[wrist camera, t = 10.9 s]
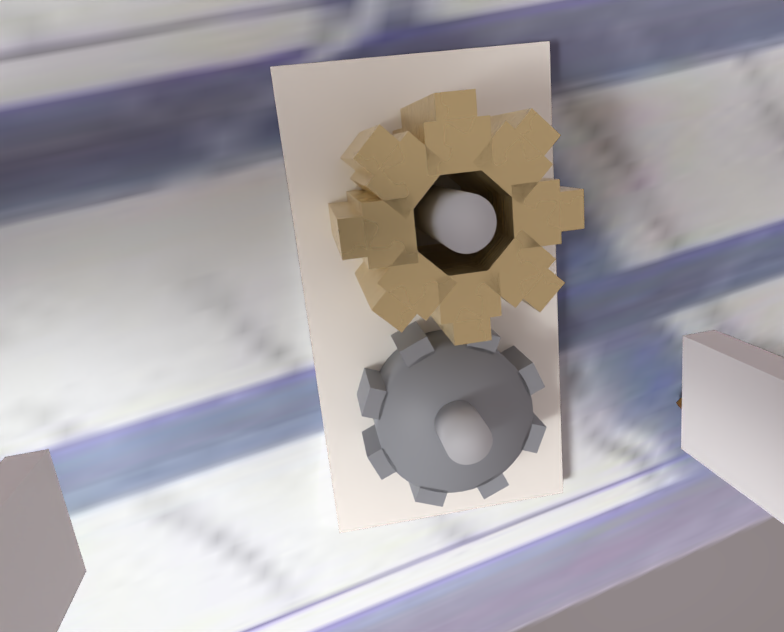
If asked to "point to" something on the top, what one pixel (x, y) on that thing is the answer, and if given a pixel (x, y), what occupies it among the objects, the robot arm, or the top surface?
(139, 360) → the top surface
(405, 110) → the brass gear
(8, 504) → the robot arm
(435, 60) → the gear board
